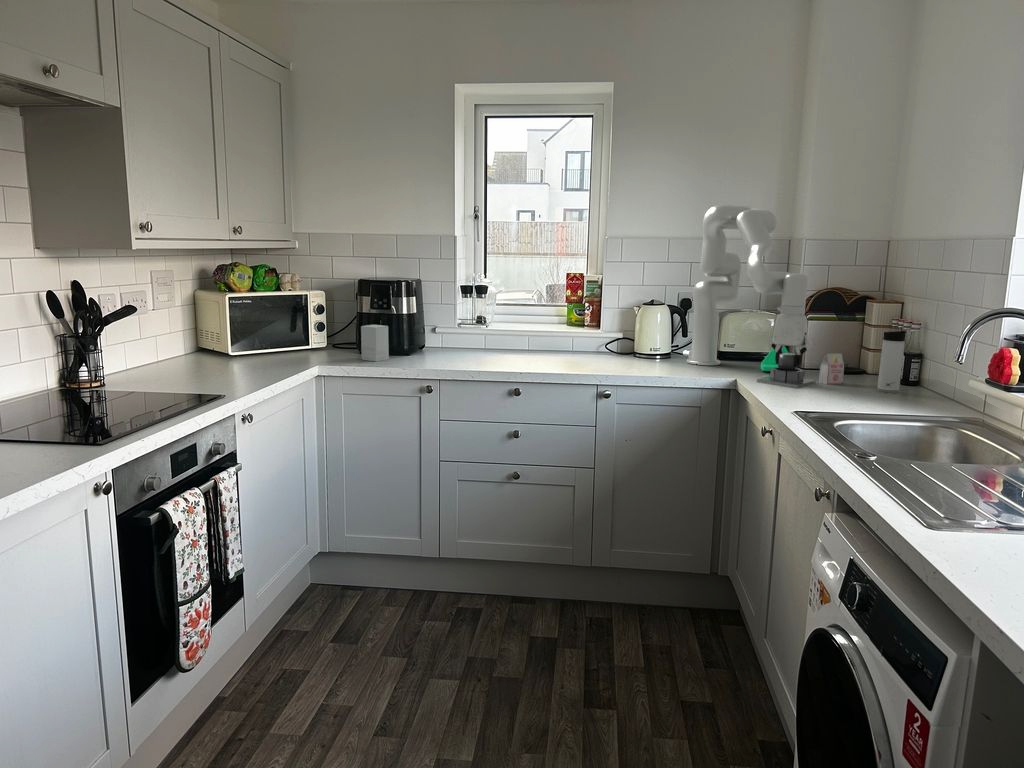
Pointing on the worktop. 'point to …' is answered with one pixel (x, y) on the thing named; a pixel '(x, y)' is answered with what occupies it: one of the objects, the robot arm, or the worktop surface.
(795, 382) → the grey square base
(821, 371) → the milk carton
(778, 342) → the robot arm
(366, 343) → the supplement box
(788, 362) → the dark grey rounded block
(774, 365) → the green triangle piece
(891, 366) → the travel mug
